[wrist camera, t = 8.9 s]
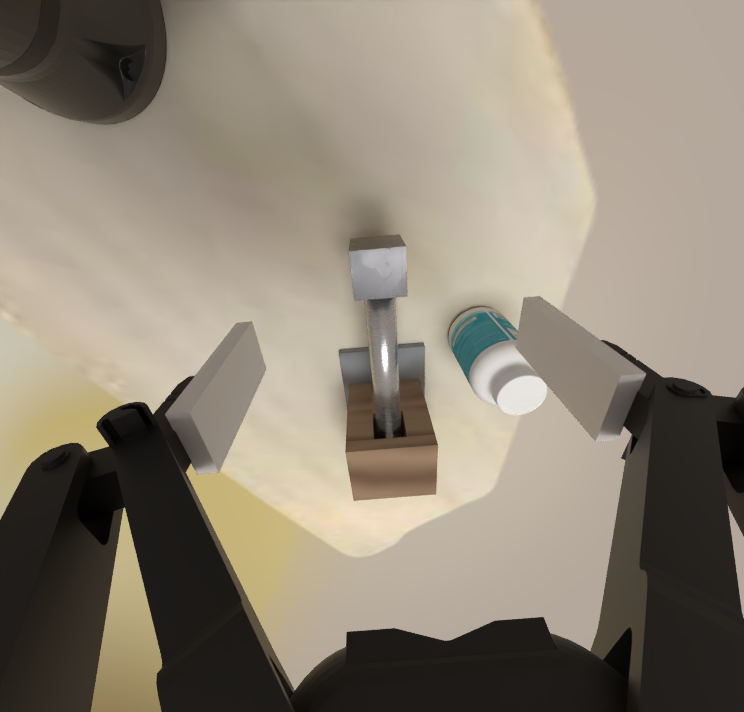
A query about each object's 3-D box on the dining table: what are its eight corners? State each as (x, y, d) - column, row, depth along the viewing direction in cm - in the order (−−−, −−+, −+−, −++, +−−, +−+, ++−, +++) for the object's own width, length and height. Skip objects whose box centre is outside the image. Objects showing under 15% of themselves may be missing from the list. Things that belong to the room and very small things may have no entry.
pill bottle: (444, 357, 43) (476, 428, 32) (449, 306, 39) (487, 364, 28) (500, 355, 43) (551, 424, 32) (510, 303, 39) (572, 360, 28)
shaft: (350, 238, 29) (348, 251, 24) (399, 234, 29) (406, 246, 24) (371, 428, 40) (372, 460, 36) (405, 426, 40) (411, 457, 36)
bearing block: (339, 349, 42) (331, 416, 31) (423, 342, 42) (446, 406, 31) (356, 464, 53) (355, 544, 42) (423, 459, 53) (439, 537, 42)
